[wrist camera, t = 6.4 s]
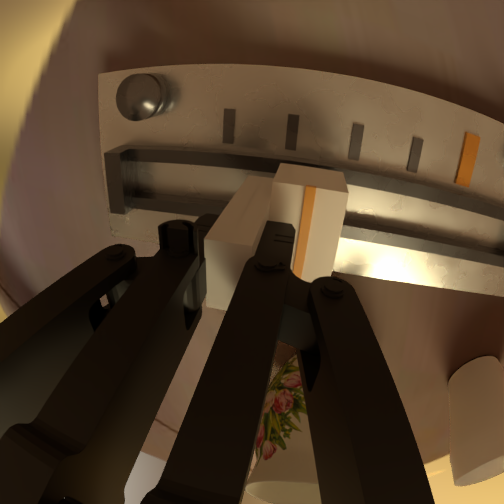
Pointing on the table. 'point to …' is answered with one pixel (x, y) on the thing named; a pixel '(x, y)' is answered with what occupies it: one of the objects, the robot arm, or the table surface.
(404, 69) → the table surface
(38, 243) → the table surface
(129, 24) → the table surface
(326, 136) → the console
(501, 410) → the cup
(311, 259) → the fader
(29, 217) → the table surface
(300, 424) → the pitcher
